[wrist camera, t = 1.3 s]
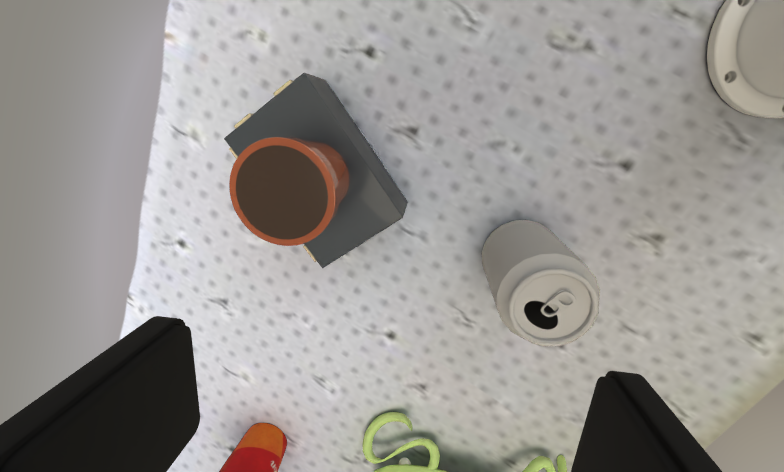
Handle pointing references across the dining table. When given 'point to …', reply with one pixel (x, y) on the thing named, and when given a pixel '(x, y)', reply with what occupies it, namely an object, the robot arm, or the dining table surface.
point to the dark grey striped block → (336, 128)
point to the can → (539, 284)
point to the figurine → (431, 451)
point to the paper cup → (258, 450)
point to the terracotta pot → (288, 188)
